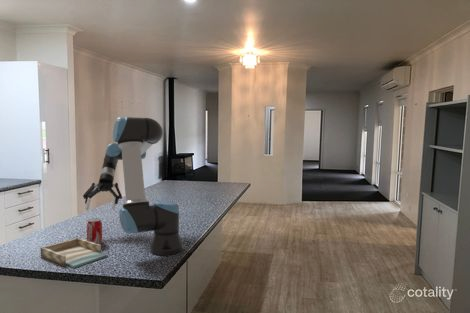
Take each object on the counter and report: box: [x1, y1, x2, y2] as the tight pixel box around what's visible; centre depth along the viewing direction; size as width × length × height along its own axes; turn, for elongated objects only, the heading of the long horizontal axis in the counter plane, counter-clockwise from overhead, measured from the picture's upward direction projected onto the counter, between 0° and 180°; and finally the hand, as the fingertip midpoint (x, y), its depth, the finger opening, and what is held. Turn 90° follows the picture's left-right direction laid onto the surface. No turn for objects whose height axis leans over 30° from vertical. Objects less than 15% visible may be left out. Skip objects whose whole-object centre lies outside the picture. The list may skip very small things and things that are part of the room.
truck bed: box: [40, 237, 108, 269], centre depth 155 cm, size 24×18×4 cm
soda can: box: [86, 217, 103, 244], centre depth 173 cm, size 7×7×12 cm
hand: (100, 209), depth 183 cm, fingers open, 13 cm apart
